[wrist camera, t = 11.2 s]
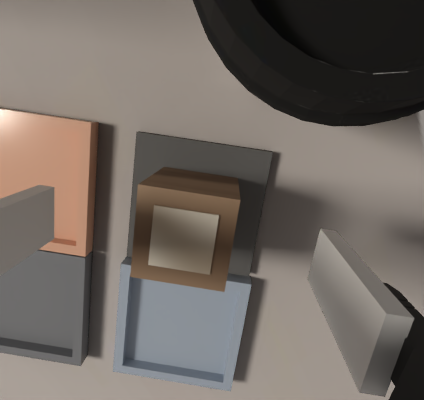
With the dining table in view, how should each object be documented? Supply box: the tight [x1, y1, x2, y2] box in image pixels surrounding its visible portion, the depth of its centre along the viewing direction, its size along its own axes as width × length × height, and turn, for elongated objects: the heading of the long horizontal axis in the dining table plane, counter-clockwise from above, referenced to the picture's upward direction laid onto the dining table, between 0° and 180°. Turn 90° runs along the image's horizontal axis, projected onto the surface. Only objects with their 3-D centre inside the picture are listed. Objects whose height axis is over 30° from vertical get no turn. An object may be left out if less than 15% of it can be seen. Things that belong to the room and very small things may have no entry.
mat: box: [127, 132, 273, 276], centre depth 22 cm, size 9×9×1 cm
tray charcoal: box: [0, 249, 93, 366], centre depth 24 cm, size 9×9×1 cm
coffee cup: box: [193, 0, 424, 126], centre depth 12 cm, size 8×8×15 cm
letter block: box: [130, 167, 240, 292], centre depth 18 cm, size 5×5×6 cm
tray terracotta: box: [0, 108, 99, 257], centre depth 22 cm, size 9×9×1 cm
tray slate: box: [113, 257, 252, 391], centre depth 24 cm, size 9×9×1 cm
